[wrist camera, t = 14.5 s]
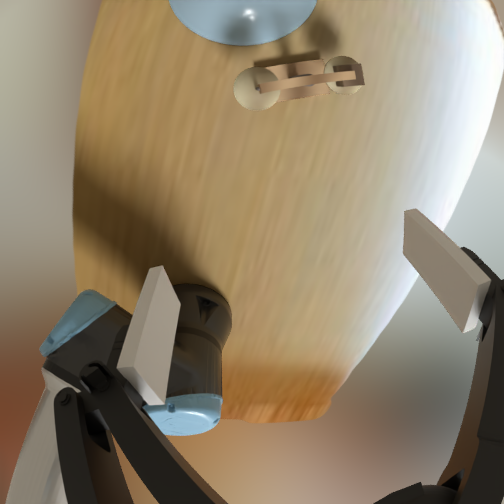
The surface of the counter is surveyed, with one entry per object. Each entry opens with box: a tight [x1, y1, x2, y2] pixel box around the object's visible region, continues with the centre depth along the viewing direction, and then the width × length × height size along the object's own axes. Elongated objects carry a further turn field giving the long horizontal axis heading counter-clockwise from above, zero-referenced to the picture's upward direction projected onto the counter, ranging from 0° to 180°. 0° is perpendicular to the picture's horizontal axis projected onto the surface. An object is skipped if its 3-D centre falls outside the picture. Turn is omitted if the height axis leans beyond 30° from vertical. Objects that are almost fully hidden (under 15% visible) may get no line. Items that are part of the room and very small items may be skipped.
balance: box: [234, 56, 365, 111], centre depth 31 cm, size 16×5×11 cm, turn 103°
